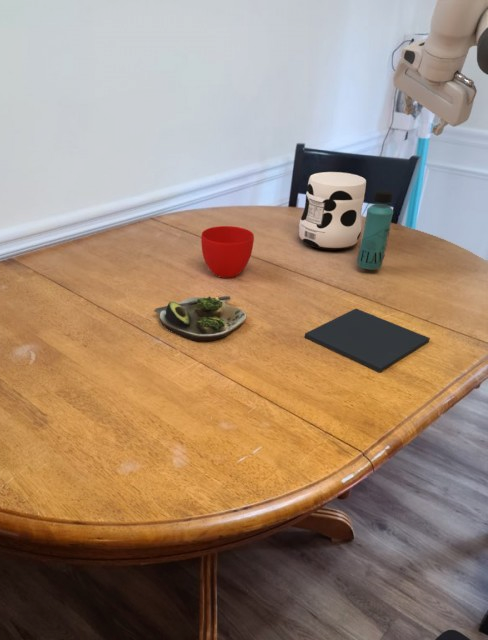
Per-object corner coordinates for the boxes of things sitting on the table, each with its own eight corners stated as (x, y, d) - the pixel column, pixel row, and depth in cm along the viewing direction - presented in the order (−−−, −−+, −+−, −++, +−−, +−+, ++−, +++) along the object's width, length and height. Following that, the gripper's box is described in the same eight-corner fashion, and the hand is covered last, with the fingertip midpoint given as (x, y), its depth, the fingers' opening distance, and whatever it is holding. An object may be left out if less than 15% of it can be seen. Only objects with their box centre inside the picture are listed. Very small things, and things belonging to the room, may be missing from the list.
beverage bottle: (353, 273, 145) (368, 193, 134) (357, 264, 150) (371, 186, 139) (379, 277, 143) (397, 196, 132) (382, 267, 148) (399, 189, 137)
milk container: (357, 236, 168) (369, 173, 158) (358, 257, 154) (371, 189, 144) (299, 231, 171) (307, 169, 161) (294, 251, 157) (303, 184, 147)
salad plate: (201, 293, 134) (202, 275, 131) (263, 316, 125) (265, 297, 122) (144, 321, 122) (143, 302, 119) (208, 349, 113) (208, 329, 110)
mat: (428, 342, 116) (430, 338, 115) (379, 373, 106) (380, 368, 106) (355, 312, 127) (355, 308, 126) (304, 337, 117) (305, 333, 116)
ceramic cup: (254, 259, 152) (257, 222, 146) (248, 285, 138) (251, 245, 132) (206, 256, 154) (207, 219, 148) (196, 281, 140) (197, 241, 134)
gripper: (490, 79, 114) (465, 141, 126) (419, 35, 123) (402, 97, 135) (467, 90, 112) (444, 151, 124) (396, 45, 122) (381, 106, 134)
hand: (421, 123), depth 130 cm, fingers open, 8 cm apart
